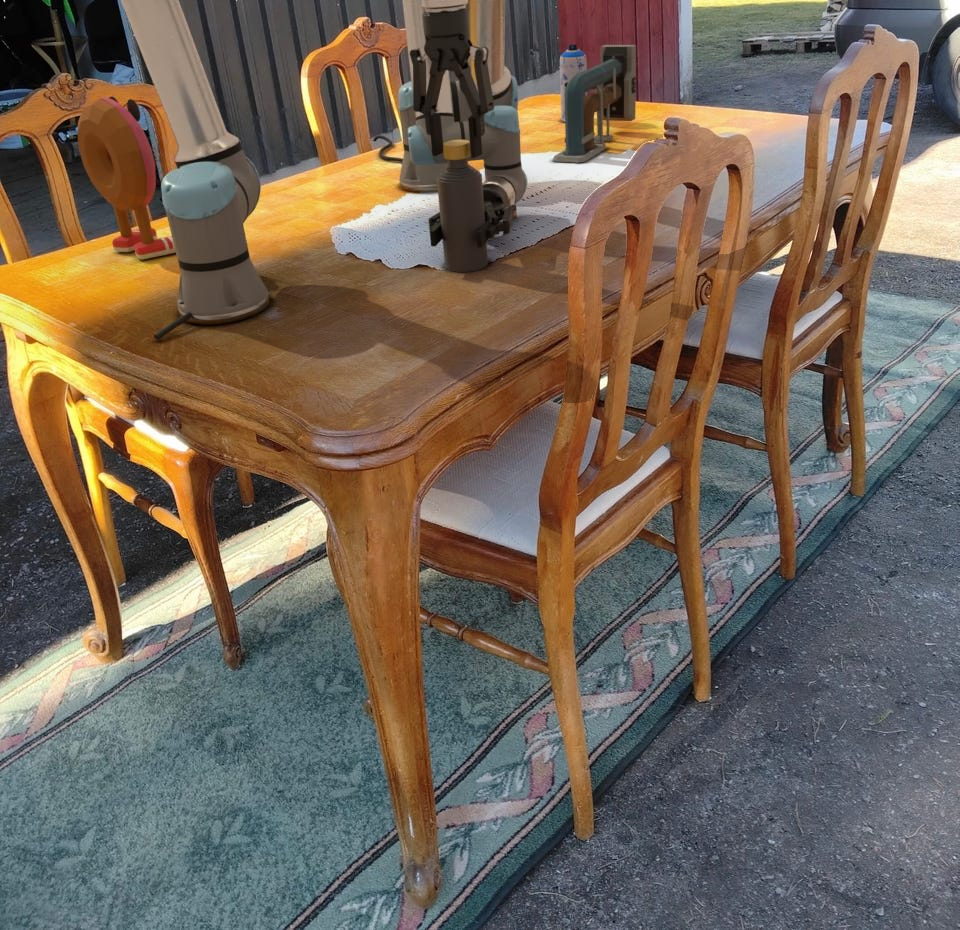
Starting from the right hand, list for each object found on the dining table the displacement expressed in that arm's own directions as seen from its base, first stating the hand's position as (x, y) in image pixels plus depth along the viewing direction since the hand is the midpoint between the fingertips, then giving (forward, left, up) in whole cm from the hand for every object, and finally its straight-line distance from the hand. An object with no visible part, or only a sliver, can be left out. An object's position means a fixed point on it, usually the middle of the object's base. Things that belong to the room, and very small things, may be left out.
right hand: (455, 239), depth 170 cm
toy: (-37, -60, -6) cm, 71 cm away
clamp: (-84, +46, -6) cm, 96 cm away
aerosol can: (-118, +49, -6) cm, 127 cm away
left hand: (-4, +2, +13) cm, 14 cm away
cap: (-4, +2, +15) cm, 16 cm away
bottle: (-4, +2, -6) cm, 8 cm away
